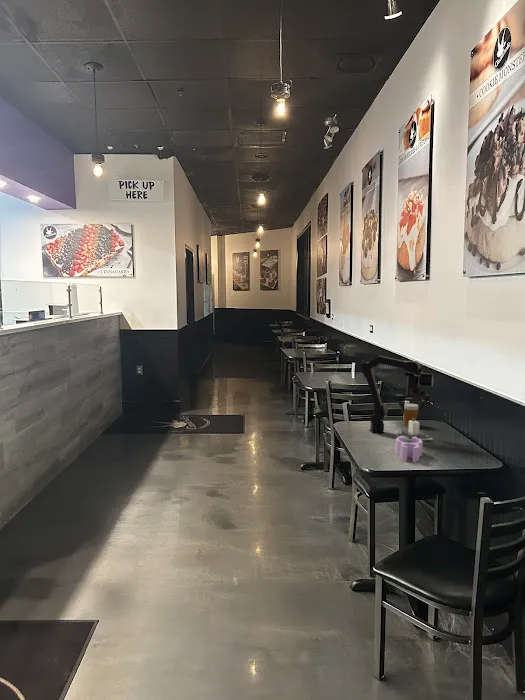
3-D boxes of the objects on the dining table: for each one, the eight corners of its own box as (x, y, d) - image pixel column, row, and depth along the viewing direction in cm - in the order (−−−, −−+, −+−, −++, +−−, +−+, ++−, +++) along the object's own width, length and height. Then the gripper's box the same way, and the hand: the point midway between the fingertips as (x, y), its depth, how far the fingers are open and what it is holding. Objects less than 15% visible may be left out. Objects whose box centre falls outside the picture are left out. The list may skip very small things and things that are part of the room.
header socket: (410, 439, 283) (410, 435, 283) (401, 434, 293) (401, 430, 293) (425, 438, 285) (425, 434, 285) (416, 433, 295) (416, 429, 295)
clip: (423, 463, 247) (424, 448, 246) (395, 461, 249) (396, 446, 248) (420, 450, 266) (421, 437, 265) (394, 448, 269) (395, 435, 268)
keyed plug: (413, 437, 286) (414, 420, 284) (408, 435, 291) (408, 417, 290) (419, 437, 286) (420, 419, 285) (414, 434, 292) (415, 417, 291)
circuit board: (404, 441, 282) (404, 438, 282) (394, 435, 293) (394, 432, 293) (432, 440, 285) (432, 437, 285) (421, 434, 297) (421, 431, 297)
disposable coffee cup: (403, 422, 323) (404, 402, 322) (419, 424, 319) (420, 404, 318) (399, 425, 315) (400, 405, 313) (416, 427, 310) (417, 407, 309)
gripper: (403, 387, 279) (401, 417, 280) (436, 387, 282) (434, 416, 284) (394, 383, 289) (392, 412, 291) (426, 383, 293) (424, 411, 295)
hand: (411, 413), depth 290 cm, fingers open, 9 cm apart
